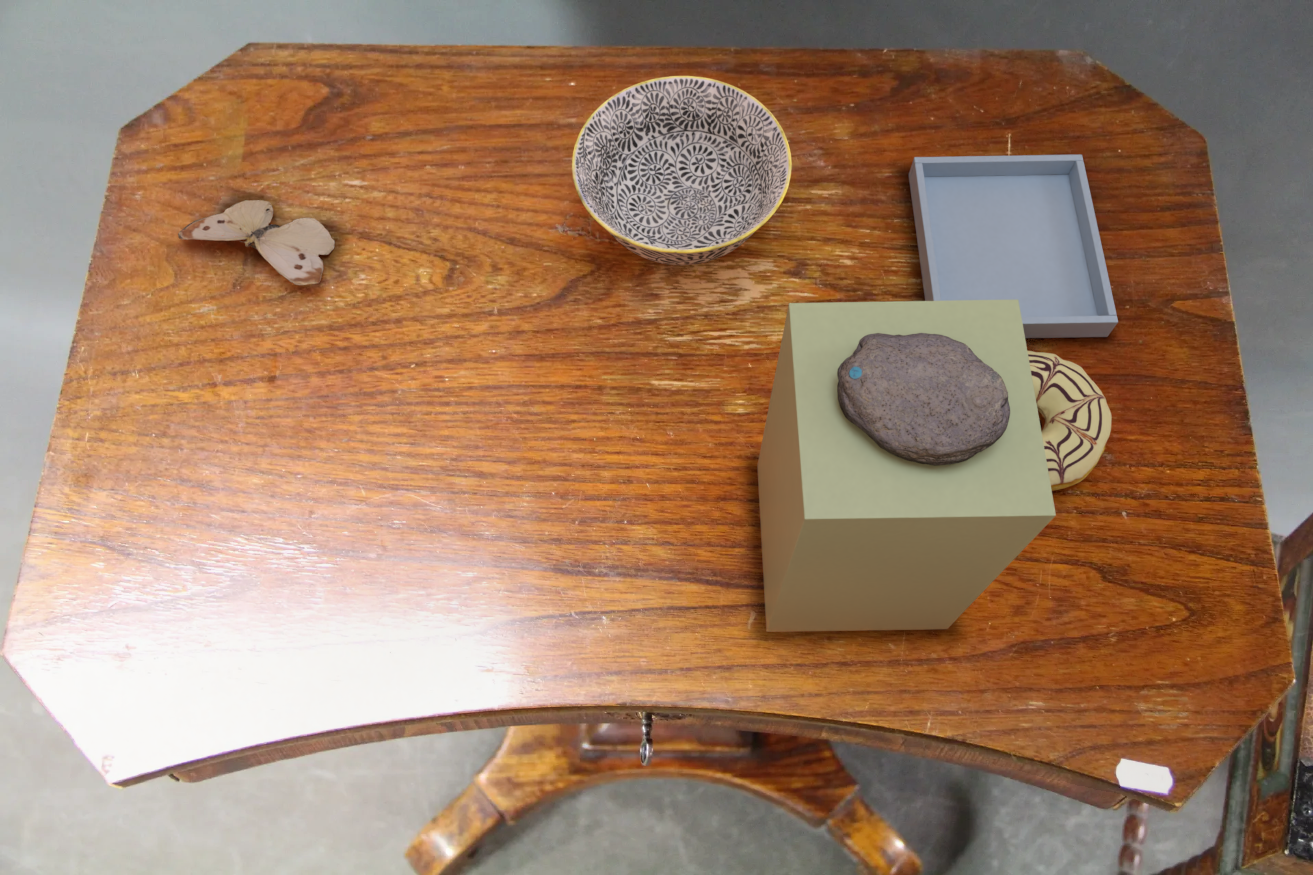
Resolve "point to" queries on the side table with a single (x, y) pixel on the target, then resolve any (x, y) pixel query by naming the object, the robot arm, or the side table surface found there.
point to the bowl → (681, 168)
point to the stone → (923, 397)
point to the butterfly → (269, 238)
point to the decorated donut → (1069, 418)
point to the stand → (890, 480)
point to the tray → (1014, 239)
